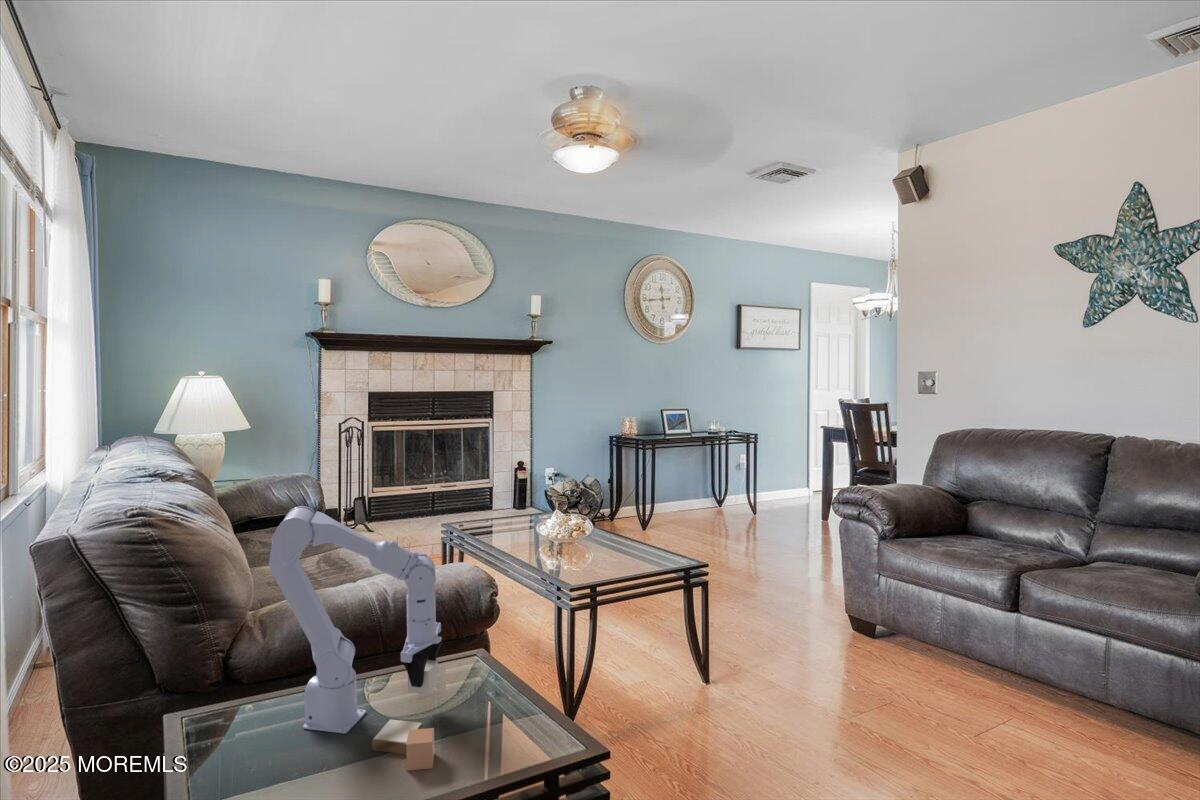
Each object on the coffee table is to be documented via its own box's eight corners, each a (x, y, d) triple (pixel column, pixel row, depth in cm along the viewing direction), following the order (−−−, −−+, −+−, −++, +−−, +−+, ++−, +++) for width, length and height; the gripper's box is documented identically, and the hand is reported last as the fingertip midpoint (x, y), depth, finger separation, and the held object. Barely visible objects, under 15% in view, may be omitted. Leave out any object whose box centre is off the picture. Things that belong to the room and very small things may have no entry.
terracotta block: (406, 770, 125) (406, 744, 125) (409, 755, 130) (409, 729, 129) (432, 768, 126) (432, 742, 125) (434, 753, 130) (434, 727, 130)
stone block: (407, 692, 142) (407, 669, 142) (417, 681, 147) (417, 658, 146) (428, 695, 142) (428, 671, 141) (437, 683, 146) (437, 660, 145)
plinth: (372, 751, 131) (371, 739, 131) (390, 730, 138) (389, 718, 138) (407, 756, 130) (406, 743, 130) (423, 734, 137) (423, 722, 137)
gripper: (424, 633, 135) (425, 700, 136) (453, 604, 149) (454, 665, 150) (390, 629, 136) (391, 696, 138) (422, 601, 150) (423, 661, 152)
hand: (422, 679), depth 144 cm, fingers closed on stone block, 4 cm apart
